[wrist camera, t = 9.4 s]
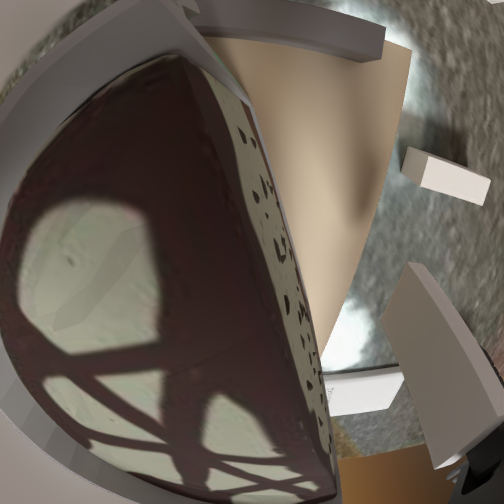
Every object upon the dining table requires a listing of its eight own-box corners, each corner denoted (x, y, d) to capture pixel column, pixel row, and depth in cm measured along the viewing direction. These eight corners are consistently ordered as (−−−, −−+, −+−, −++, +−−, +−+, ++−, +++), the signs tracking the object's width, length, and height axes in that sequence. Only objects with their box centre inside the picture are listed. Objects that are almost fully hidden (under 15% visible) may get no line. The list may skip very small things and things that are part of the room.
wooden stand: (150, 278, 24) (107, 376, 15) (162, 37, 15) (80, 2, 6) (298, 298, 24) (314, 403, 16) (353, 62, 16) (437, 46, 7)
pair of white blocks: (400, 172, 19) (420, 186, 16) (431, -50, 10) (451, -61, 7) (461, 191, 19) (482, 205, 17) (491, -14, 10) (513, -19, 7)
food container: (93, 123, 10) (-129, 242, 2) (238, 63, 9) (127, -82, 1) (201, 345, 16) (173, 525, 7) (314, 322, 15) (345, 519, 6)
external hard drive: (384, 399, 34) (291, 410, 34) (403, 361, 30) (296, 372, 30) (387, 409, 33) (292, 421, 33) (408, 371, 28) (298, 384, 29)
